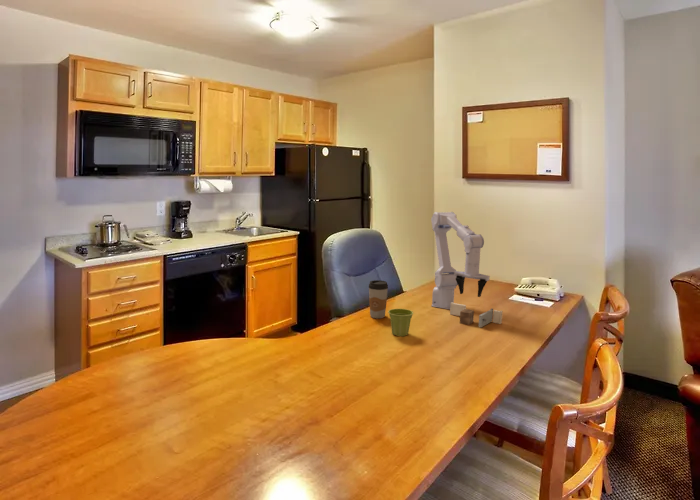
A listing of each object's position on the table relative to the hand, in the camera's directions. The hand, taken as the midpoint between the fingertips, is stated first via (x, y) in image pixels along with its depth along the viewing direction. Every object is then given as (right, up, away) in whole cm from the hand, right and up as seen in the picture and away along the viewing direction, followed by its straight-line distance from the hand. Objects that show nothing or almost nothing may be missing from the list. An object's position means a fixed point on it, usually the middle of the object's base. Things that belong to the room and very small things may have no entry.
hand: (470, 295), depth 187 cm
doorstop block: (-3, -11, -4) cm, 12 cm away
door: (+5, -11, -7) cm, 14 cm away
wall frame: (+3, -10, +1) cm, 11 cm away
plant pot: (-32, -13, -19) cm, 39 cm away
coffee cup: (-39, -10, +3) cm, 40 cm away
